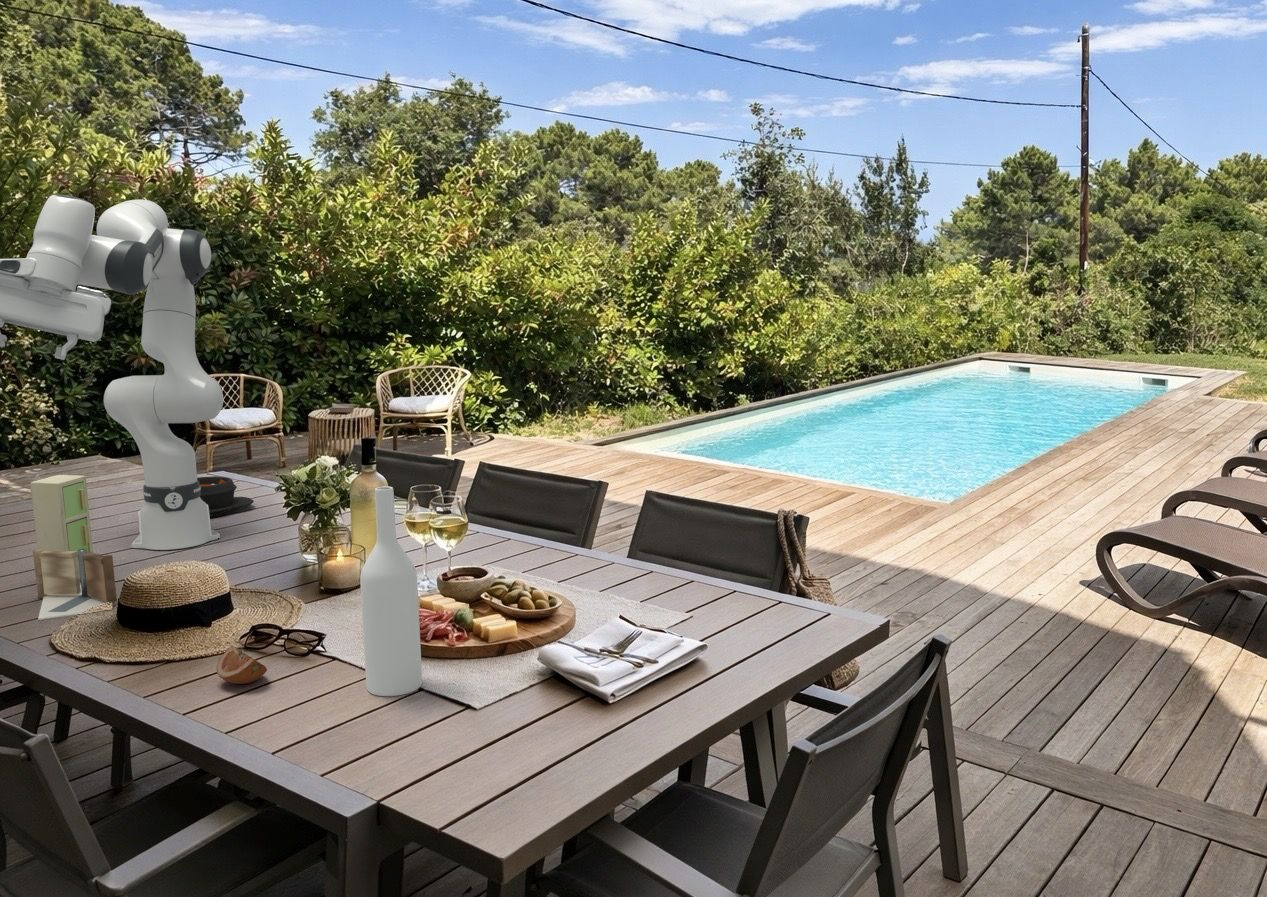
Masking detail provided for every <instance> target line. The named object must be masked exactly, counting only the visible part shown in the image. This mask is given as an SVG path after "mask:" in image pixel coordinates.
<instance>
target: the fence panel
mask: <svg viewBox="0 0 1267 897" xmlns="http://www.w3.org/2000/svg"><path fill="white" fill-rule="evenodd" d="M82 560H84V564H85V574H86V584H87V594H88V596H90V597H93V598H97V599H100V600H104V601H107V602H109V603H111V602H113V603H116V602H117V601H118V598H117V590H116V580H115V579H116V578H115V568H114V558H113V555H112V554H107V555H103V554H100V553H95V552H93V553H92V552H91V553H86V554H82Z"/></svg>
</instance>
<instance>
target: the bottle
mask: <svg viewBox="0 0 1267 897" xmlns="http://www.w3.org/2000/svg"><path fill="white" fill-rule="evenodd" d="M394 492H395V491H394V487H393V486H385V485H384V486H378V487H375V488H374V499H375V501H374V502H375V518H376V519H375V522H376V524H375V525H376V542H375V544H374V546H373V549H372V550H371V552H370V554H369V555H368V557H367V560H365V563H364V564H363V567H362V569H361V571H360V577H359V579H360V580H359V581H360V582H359V583H360V600H361V614H362V615H361V616H362V617H361V618H362V632H363V633H362V634H363V649H364V650H363V652H364V665H365V666H364V667H365V685H366V689H367V691H368V693H370V694H372V695H375V696H377V697H378V696H379V697H396V696H403V695H404V696H405V695H406V694H407V695H408V694H410V693H413V692H416V691H417V690H419V689H420V687H421V686H422V684H423V672H422V670H423V669H422V652H421V651H422V650H421V630H420V611H419V609H420V608H419V607H420V606H419V590H418V588H419V587H418V575H417V569H416V566H415V565H414V563H413V561H412V560H411V558H410V557H409V556H408V554H407V553H406V551H405V550H404V548H403V547H402V546H401V544H400V543H399V541H398V539H397V531H396V530H397V529H396V513H395V511H396V510H395V494H394Z"/></svg>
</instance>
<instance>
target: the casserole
mask: <svg viewBox="0 0 1267 897" xmlns="http://www.w3.org/2000/svg"><path fill="white" fill-rule="evenodd" d="M197 480H198V481H199V483H200V487H201V490H200V492H201V495H200V498H201V500H202V501H204V502H205V503H206V504H208V507H209V515H213V516H217V515H216V514H218V515H221V514H220V513H222V514H224V513H227V512H229V511H230V510H233V509H237V508H242V507H246V506H250V505H252V504H253V503H254V499H252V498H250V497H247V496H235V490H236V489H238V488H237V485H236V484H235V483H234V481H233V479H232V478H230V477H225V476H199V477H198V476H197ZM229 509H230V510H229ZM228 510H229V511H228ZM226 511H227V512H226Z"/></svg>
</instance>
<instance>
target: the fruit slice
mask: <svg viewBox="0 0 1267 897" xmlns="http://www.w3.org/2000/svg"><path fill="white" fill-rule="evenodd" d="M216 665H217V666H216V674H217V675H218V677H220V678H221V679H222V680H224V681H225V682H228V683H230V684H238V685H245V684H246V685H247V684H250V683H253V682H255V681H256V680H259V679H260V678H261V677H263V676H264V675H265V674H266V673H267V671H268V668H267V667H266V665H264V664H262V663H261V662H259V661H258V660H257V659H255V658H253V657H252V656H250V655H249V654H247V653H244V652H243V650H241V649H239V648H238V647H236V646H234V645H232V644H231V645H230V646H229V647H228V648H227V650H226V651H224V653H223V654H222V656H220V659H219V661H218V662H217V664H216Z"/></svg>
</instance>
